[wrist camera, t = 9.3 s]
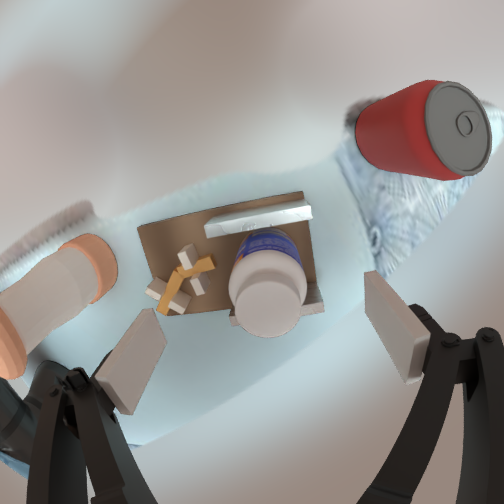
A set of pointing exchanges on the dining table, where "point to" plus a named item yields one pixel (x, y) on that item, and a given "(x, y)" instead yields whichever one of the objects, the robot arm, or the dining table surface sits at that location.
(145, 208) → the dining table surface
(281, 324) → the pill bottle
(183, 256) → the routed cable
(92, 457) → the robot arm
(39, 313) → the pepper shaker
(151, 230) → the board
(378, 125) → the beer can
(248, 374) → the dining table surface
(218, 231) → the end holder
